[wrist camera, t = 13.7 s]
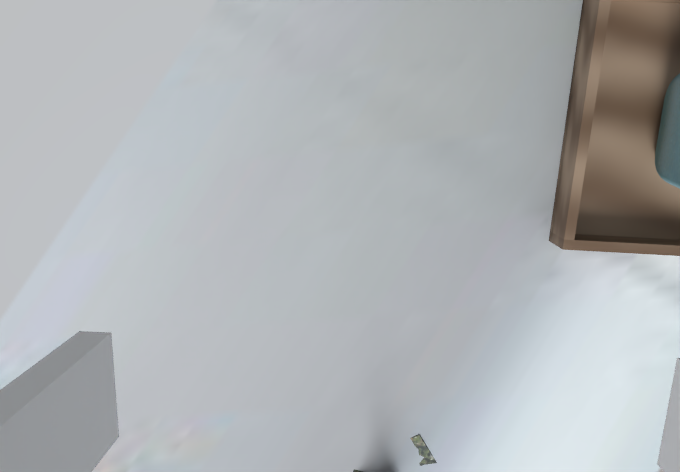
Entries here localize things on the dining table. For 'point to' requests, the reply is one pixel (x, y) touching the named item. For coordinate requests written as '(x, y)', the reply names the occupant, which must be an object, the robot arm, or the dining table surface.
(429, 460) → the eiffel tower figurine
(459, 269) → the dining table surface
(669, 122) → the flower pot
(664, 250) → the box
